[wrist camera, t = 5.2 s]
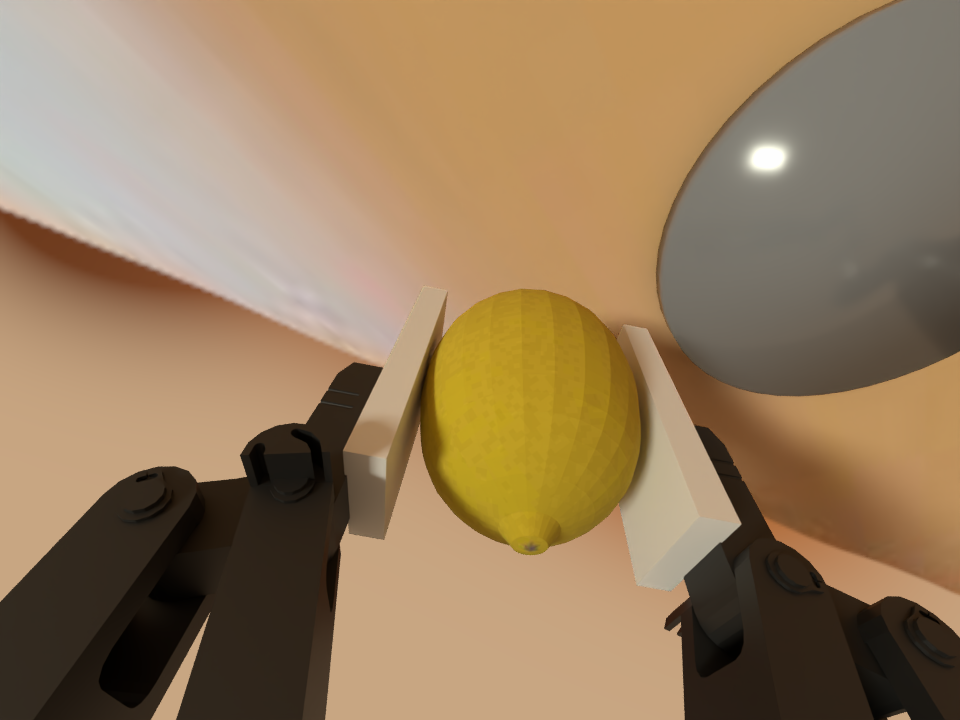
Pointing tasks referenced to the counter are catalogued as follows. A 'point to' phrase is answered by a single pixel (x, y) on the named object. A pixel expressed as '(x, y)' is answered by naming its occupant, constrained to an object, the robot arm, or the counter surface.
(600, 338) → the lemon
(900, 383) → the counter surface
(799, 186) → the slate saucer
